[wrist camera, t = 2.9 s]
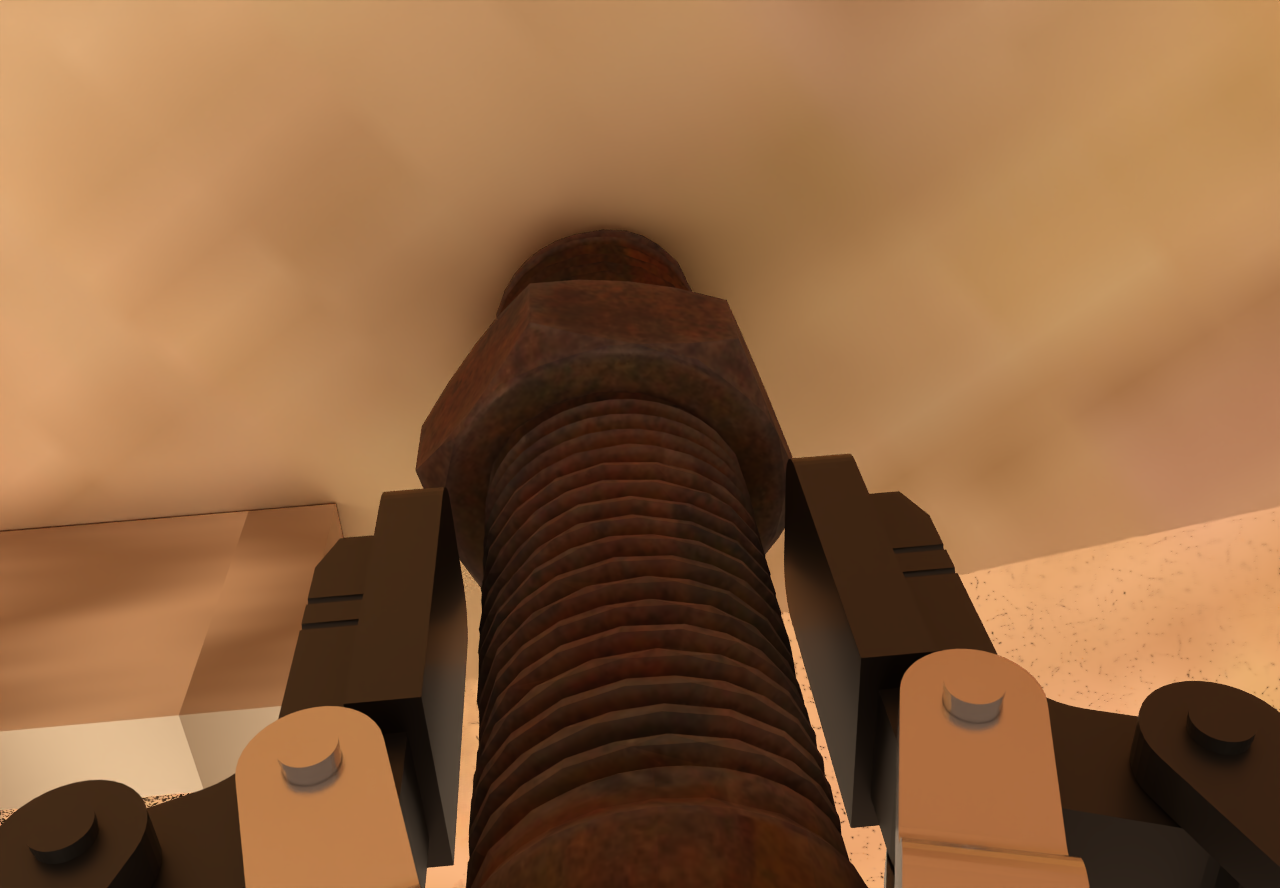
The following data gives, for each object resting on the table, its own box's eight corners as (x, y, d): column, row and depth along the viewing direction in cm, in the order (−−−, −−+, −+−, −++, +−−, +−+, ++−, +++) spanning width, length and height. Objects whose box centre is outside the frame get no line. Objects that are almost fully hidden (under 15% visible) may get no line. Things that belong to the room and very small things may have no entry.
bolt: (366, 218, 19) (21, 1348, 6) (672, 83, 18) (1029, 1034, 5) (531, 503, 22) (538, 1667, 9) (799, 396, 21) (1225, 1494, 8)
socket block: (335, 503, 21) (288, 705, 17) (428, 928, 27) (409, 1156, 23) (-285, 556, 21) (-494, 776, 17) (-52, 976, 27) (-161, 1217, 23)
